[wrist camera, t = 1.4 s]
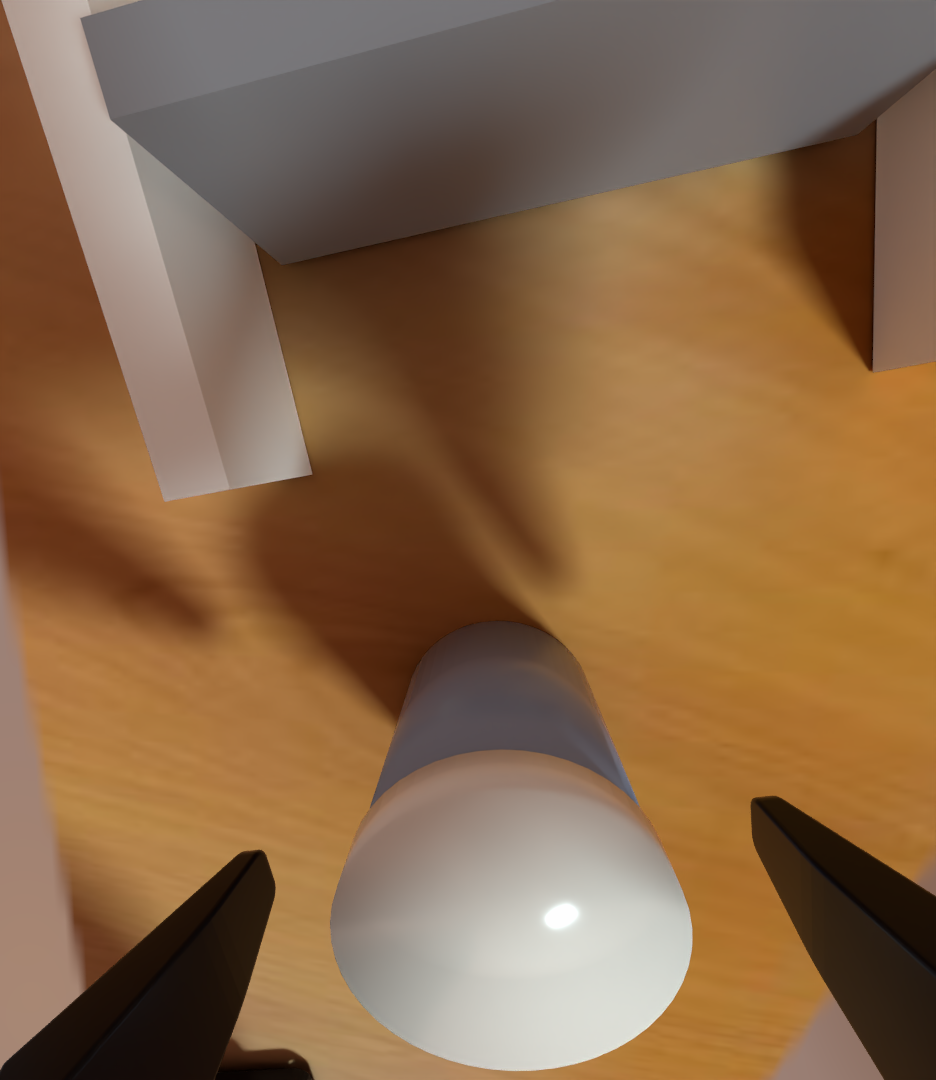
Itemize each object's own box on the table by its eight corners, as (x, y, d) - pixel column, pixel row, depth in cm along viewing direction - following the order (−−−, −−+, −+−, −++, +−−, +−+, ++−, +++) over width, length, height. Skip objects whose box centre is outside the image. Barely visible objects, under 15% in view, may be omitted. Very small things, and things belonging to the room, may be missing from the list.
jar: (604, 775, 12) (702, 1059, 7) (424, 796, 13) (373, 1079, 7) (582, 603, 11) (678, 769, 6) (386, 632, 12) (289, 814, 6)
